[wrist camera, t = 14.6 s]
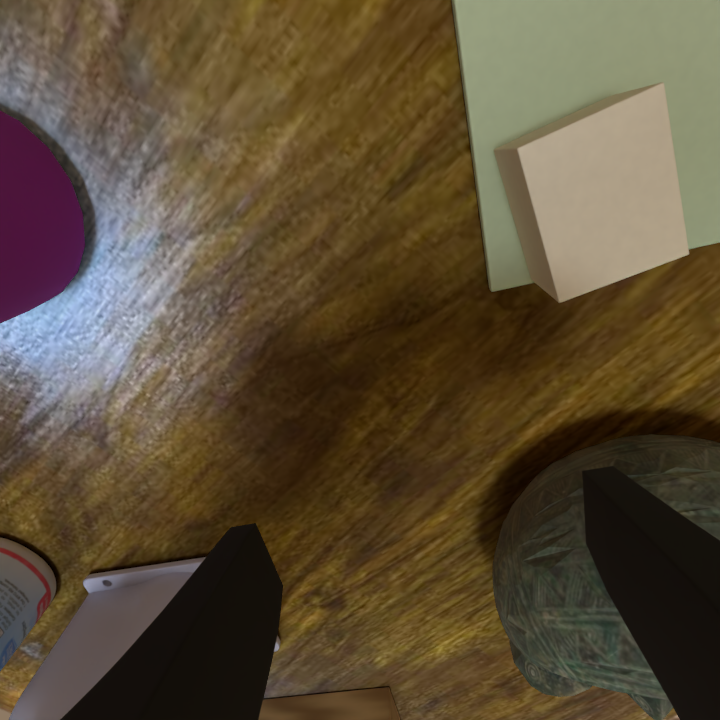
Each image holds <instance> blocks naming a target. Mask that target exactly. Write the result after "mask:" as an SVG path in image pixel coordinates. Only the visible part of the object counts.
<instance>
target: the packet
mask: <svg viewBox="0 0 720 720" xmlns="http://www.w3.org/2000/svg"><path fill="white" fill-rule="evenodd" d="M494 154H495V157H496V160H497V164H498V167H499V171H500V174H501V178H502V181H503V184H504V188H505V191H506V195H507V198H508V201H509V205H510V208H511V212H512V215H513V219H514V222H515V225H516V229H517V232H518V236H519V239H520V243H521V246H522V249H523V253H524V256H525V260H526V263H527V267H528V270H529V273H530V277H531V280H532V281H533V282H535V283H536V284H537V285H538V286H539V287H541V288H542V289H543V290H544V291H546V292H547V293H548V294H549V295H550V296H552V297H553V298H554V299H555V300H556V301H558V302H559V303H561V302H564V301H566V300H569V299H572V298H574V297H577V296H580V295H582V294H585V293H588V292H590V291H593V290H596V289H598V288H601V287H604V286H606V285H609V284H612V283H614V282H617V281H620V280H622V279H625V278H628V277H630V276H633V275H636V274H638V273H641V272H644V271H646V270H649V269H652V268H654V267H657V266H660V265H662V264H665V263H668V262H670V261H673V260H676V259H678V258H681V257H684V256H686V255H688V254H689V249H688V242H687V235H686V229H685V222H684V215H683V208H682V201H681V195H680V188H679V181H678V174H677V167H676V161H675V154H674V147H673V140H672V133H671V127H670V120H669V113H668V106H667V99H666V93H665V86H664V82H661V83H657V84H653V85H649V86H646V87H642V88H638V89H634V90H630V91H627V92H623V93H619V94H615V95H611V96H609V97H607V98H605V99H603V100H600V101H598V102H596V103H594V104H592V105H589V106H587V107H585V108H583V109H581V110H579V111H576V112H574V113H572V114H570V115H568V116H565V117H563V118H561V119H559V120H557V121H555V122H552V123H550V124H548V125H546V126H544V127H541V128H539V129H537V130H535V131H533V132H531V133H528V134H526V135H524V136H522V137H520V138H517V139H515V140H513V141H511V142H509V143H507V144H504V145H502V146H500V147H498V148H496V149H494Z"/></svg>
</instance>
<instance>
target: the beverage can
mask: <svg viewBox="0 0 720 720" xmlns="http://www.w3.org/2000/svg"><path fill="white" fill-rule="evenodd" d="M84 248H85V237H84V223H83V213H82V210H81V207H80V205H79V202H78V199H77V197H76V194H75V191H74V188H73V186H72V183H71V180H70V179H69V177H68V176H67V174H66V173H65V171H64V170H63V168H62V167H61V165H60V164H59V162H58V161H57V160H56V158H55V157H54V155H53V154H52V152H51V151H50V149H49V148H48V147H47V146H46V145H45V144H44V143H43V142H42V141H41V140H39V139H38V138H37V137H36V136H35V135H34V134H33V133H32V132H31V131H30V130H29V129H27V128H26V127H25V126H24V125H23V124H22V123H21V122H20V121H19V120H17V119H15V118H13V117H11V116H9V115H8V114H6V113H4V112H2V111H0V323H2V322H4V321H6V320H9V319H11V318H13V317H16V316H18V315H20V314H23V313H25V312H27V311H29V310H31V309H33V308H35V307H37V306H39V305H40V304H42V303H44V302H46V301H48V300H50V299H52V298H53V297H55V296H56V295H58V294H59V293H61V292H63V290H64V289H65V288H66V286H67V285H68V284H69V283H70V281H71V280H72V279H73V277H74V276H75V275H76V274H77V272H78V270H79V266H80V262H81V259H82V255H83V251H84Z"/></svg>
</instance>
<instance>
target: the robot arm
mask: <svg viewBox="0 0 720 720" xmlns="http://www.w3.org/2000/svg"><path fill="white" fill-rule="evenodd" d="M582 478H583V497H584V515H585V534H586V544H587V547H588V549H589V551H590V554H591V556H592V558H593V561H594V563H595V565H596V568H597V570H598V572H599V575H600V577H601V579H602V581H603V583H604V586H605V588H606V590H607V592H608V594H609V596H610V598H611V599H612V601H613V603H614V605H615V607H616V608H617V610H618V612H619V614H620V615H621V617H622V619H623V621H624V622H625V624H626V626H627V628H628V629H629V631H630V633H631V635H632V636H633V638H634V640H635V642H636V643H637V645H638V647H639V649H640V650H641V652H642V654H643V656H644V657H645V659H646V661H647V663H648V664H649V666H650V668H651V669H652V671H653V673H654V675H655V676H656V678H657V680H658V682H659V683H660V685H661V687H662V689H663V690H664V692H665V694H666V696H667V697H668V699H669V701H670V702H671V704H672V706H673V708H674V709H675V711H676V713H677V715H678V717H679V718H680V720H720V540H719V539H717V538H716V537H714V536H713V535H711V534H710V533H708V532H707V531H705V530H704V529H702V528H701V527H699V526H698V525H696V524H695V523H693V522H692V521H690V520H689V519H687V518H686V517H684V516H683V515H682V514H680V513H679V512H677V511H676V510H674V509H673V508H672V507H670V506H669V505H667V504H666V503H664V502H663V501H662V500H660V499H659V498H657V497H656V496H655V495H653V494H652V493H650V492H649V491H648V490H646V489H645V488H643V487H642V486H641V485H639V484H638V483H636V482H635V481H634V480H632V479H631V478H630V477H628V476H627V475H625V474H624V473H622V472H621V471H620V470H618V469H617V468H615V467H614V466H609V467H603V468H597V469H591V470H584V471H582ZM83 585H84V587H85V588H86V590H87V591H88V593H89V594H88V596H87V597H86V599H85V600H84V602H83V603H82V605H81V606H80V608H79V609H78V611H77V612H76V614H75V615H74V617H73V618H72V620H71V621H70V623H69V624H68V626H67V627H66V629H65V630H64V632H63V633H62V635H61V636H60V638H59V639H58V641H57V642H56V644H55V645H54V647H53V648H52V650H51V651H50V653H49V654H48V656H47V657H46V659H45V660H44V662H43V663H42V665H41V666H40V668H39V669H38V671H37V672H36V674H35V675H34V677H33V678H32V680H31V681H30V683H29V684H28V686H27V687H26V689H25V690H24V692H23V693H22V695H21V696H20V698H19V700H18V702H17V703H16V705H15V707H14V709H13V711H12V713H11V716H10V718H9V720H258V719H259V714H260V710H261V706H262V702H263V697H264V693H265V689H266V684H267V680H268V676H269V671H270V667H271V662H272V658H273V653H274V652H275V651H277V650H279V647H280V639H279V637H278V628H279V620H280V611H281V601H282V591H283V585H282V582H281V580H280V578H279V575H278V573H277V571H276V569H275V566H274V564H273V562H272V559H271V557H270V555H269V553H268V550H267V548H266V546H265V543H264V541H263V539H262V537H261V534H260V532H259V530H258V527H257V525H256V523H254V524H248V525H242V526H236V527H231V528H230V529H229V530H228V531H227V532H226V534H225V535H224V536H223V537H222V538H221V539H220V541H219V542H218V543H217V544H216V546H215V547H214V548H213V549H212V550H211V552H210V553H209V554H208V555H207V557H202V558H195V559H189V560H182V561H175V562H169V563H162V564H155V565H149V566H142V567H135V568H129V569H122V570H115V571H109V572H102V573H95V574H90V575H88V576H87V577H86V578H85V580H84V581H83Z"/></svg>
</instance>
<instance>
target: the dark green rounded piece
mask: <svg viewBox="0 0 720 720" xmlns="http://www.w3.org/2000/svg"><path fill="white" fill-rule="evenodd" d="M609 466H614V467H615V468H617V469H618V470H620V471H621V472H622V473H624V474H625V475H627V476H628V477H630V478H631V479H632V480H634V481H635V482H636V483H638V484H639V485H641V486H642V487H643V488H645V489H646V490H648V491H649V492H650V493H652V494H653V495H655V496H656V497H657V498H659V499H660V500H662V501H663V502H664V503H666V504H667V505H669V506H670V507H672V508H673V509H674V510H676V511H677V512H679V513H680V514H682V515H683V516H684V517H686V518H687V519H689V520H690V521H692V522H693V523H695V524H696V525H698V526H699V527H701V528H702V529H704V530H705V531H707V532H708V533H710V534H711V535H713V536H714V537H716V538H717V539H719V540H720V443H718V442H715V441H712V440H706V439H700V438H695V437H689V436H677V435H654V434H650V435H638V436H628V437H623V438H618V439H613V440H610V441H607V442H604V443H601V444H598V445H594V446H591V447H587V448H584V449H582V450H579V451H576V452H574V453H572V454H570V455H568V456H566V457H564V458H562V459H560V460H558V461H556V462H554V463H552V464H550V465H549V466H548V467H547V468H546V469H544V470H542V471H541V472H540V473H539V474H538V475H537V476H536V477H535V478H534V479H533V480H532V481H531V482H530V484H529V485H528V486H527V487H526V489H525V490H524V491H523V492H522V494H521V495H520V496H519V497H518V499H517V500H516V501H515V502H514V504H513V505H512V506H511V509H510V511H509V513H508V515H507V517H506V519H505V520H504V521H503V524H502V528H501V531H500V535H499V539H498V542H497V546H496V551H495V555H494V561H493V588H494V597H495V602H496V608H497V611H498V613H499V616H500V619H501V622H502V625H503V627H504V629H505V631H506V633H507V635H508V637H509V639H510V646H511V651H512V655H513V660H514V663H515V664H516V666H517V667H518V669H519V670H520V671H521V673H522V674H523V676H524V677H525V678H526V680H527V681H528V682H529V684H530V685H531V686H532V687H534V688H535V689H537V690H539V691H540V692H542V693H544V694H547V695H553V696H558V697H563V696H574V695H576V694H578V693H581V692H583V691H585V690H587V689H590V688H591V686H592V685H593V686H597V687H601V688H605V689H609V690H613V691H617V692H623V693H627V694H628V695H629V696H630V697H631V698H632V699H633V700H634V701H635V702H636V703H637V704H638V705H639V706H640V707H641V708H642V709H643V710H644V711H645V712H646V713H647V714H648V715H649V716H651V717H652V718H653V719H655V720H663V719H664V718H665V717H666V715H667V714H668V713H669V712H670V711H671V709H672V708H673V706H672V704H671V702H670V701H669V699H668V697H667V696H666V694H665V692H664V690H663V689H662V687H661V685H660V683H659V682H658V680H657V678H656V676H655V675H654V673H653V671H652V669H651V668H650V666H649V664H648V663H647V661H646V659H645V657H644V656H643V654H642V652H641V650H640V649H639V647H638V645H637V643H636V642H635V640H634V638H633V636H632V635H631V633H630V631H629V629H628V628H627V626H626V624H625V622H624V621H623V619H622V617H621V615H620V614H619V612H618V610H617V608H616V607H615V605H614V603H613V601H612V599H611V598H610V596H609V594H608V592H607V590H606V588H605V586H604V583H603V581H602V579H601V577H600V575H599V572H598V570H597V568H596V565H595V563H594V561H593V558H592V556H591V554H590V551H589V549H588V547H587V544H586V534H585V515H584V497H583V478H582V471H584V470H591V469H597V468H603V467H609Z"/></svg>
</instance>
